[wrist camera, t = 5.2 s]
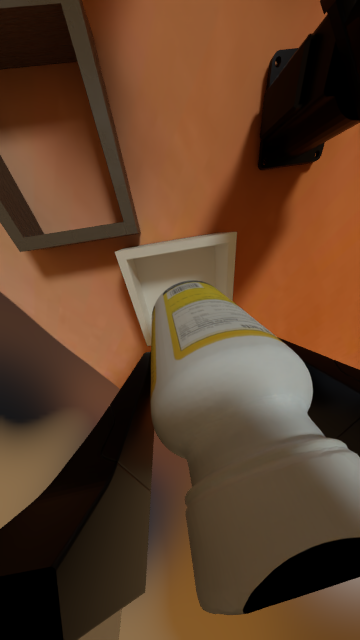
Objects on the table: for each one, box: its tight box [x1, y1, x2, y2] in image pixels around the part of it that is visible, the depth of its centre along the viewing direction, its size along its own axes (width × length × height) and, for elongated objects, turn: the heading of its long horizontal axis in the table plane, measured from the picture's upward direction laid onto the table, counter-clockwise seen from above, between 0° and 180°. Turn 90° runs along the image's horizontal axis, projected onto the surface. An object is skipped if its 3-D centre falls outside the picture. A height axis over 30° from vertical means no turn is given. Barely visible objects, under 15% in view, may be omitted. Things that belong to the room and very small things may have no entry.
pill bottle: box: [151, 280, 360, 615], centre depth 8 cm, size 6×6×12 cm
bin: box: [115, 232, 237, 346], centre depth 18 cm, size 12×12×4 cm
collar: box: [0, 0, 141, 252], centre depth 11 cm, size 11×12×3 cm
